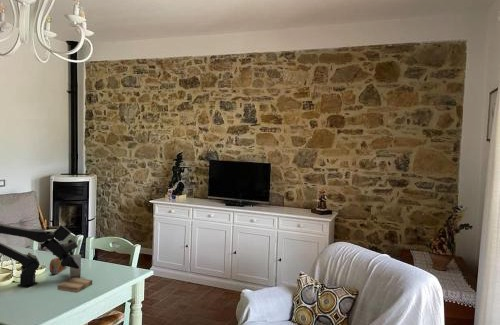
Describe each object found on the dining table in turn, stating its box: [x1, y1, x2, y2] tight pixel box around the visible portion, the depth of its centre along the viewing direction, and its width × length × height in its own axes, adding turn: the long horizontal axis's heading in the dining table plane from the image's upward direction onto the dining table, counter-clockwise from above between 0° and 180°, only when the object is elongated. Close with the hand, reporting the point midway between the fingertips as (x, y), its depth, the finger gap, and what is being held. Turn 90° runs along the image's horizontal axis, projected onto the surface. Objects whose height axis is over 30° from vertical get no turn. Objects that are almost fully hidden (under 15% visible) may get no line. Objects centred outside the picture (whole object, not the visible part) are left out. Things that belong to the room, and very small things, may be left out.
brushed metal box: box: [69, 253, 82, 280], centre depth 205 cm, size 5×5×12 cm
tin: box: [49, 256, 67, 275], centre depth 215 cm, size 15×3×8 cm, turn 179°
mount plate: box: [57, 277, 93, 293], centre depth 195 cm, size 12×11×2 cm
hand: (78, 266), depth 205 cm, fingers closed on brushed metal box, 5 cm apart
